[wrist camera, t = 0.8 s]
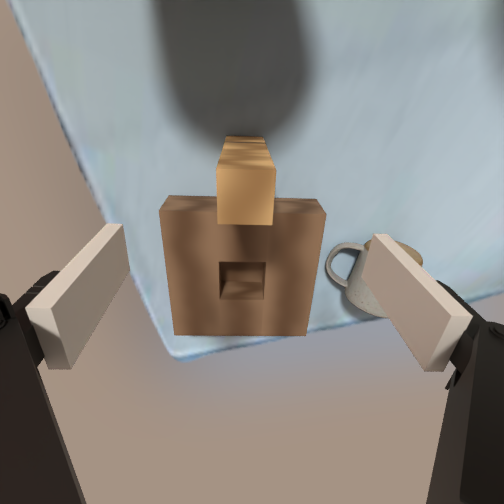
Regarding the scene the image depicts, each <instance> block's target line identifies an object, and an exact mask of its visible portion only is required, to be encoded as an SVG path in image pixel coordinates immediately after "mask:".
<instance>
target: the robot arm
mask: <svg viewBox="0 0 504 504" xmlns="http://www.w3.org/2000/svg"><path fill="white" fill-rule="evenodd" d="M129 271H130V267H129V261H128V254H127V248H126V242H125V235H124V229H123V224H106V225H105V226H104V227H103V228H102V229H101V231H100V232H99V233H98V234H96V236H95V237H94V238H93V239H92V240H91V241H90V242H89V243H88V244H87V245H86V246H85V247H84V248H83V249H82V250H81V251H80V252H79V253H78V254H77V255H76V256H75V257H74V258H73V259H72V260H71V261H70V262H69V263H68V264H67V265H66V267H64V268H63V269H62V270H61V271H52V272H50V273H49V274H47V275H45V276H43V277H41V278H40V279H39V280H38V281H37V282H36V283H35V284H34V285H33V287H31V288H30V289H29V290H28V291H27V292H26V294H23V295H22V296H21V297H20V298H19V299H18V300H17V301H16V302H15V303H14V304H13V305H12V304H11V302H10V300H9V298H8V297H7V296H6V295H5V294H1V293H0V504H86V501H85V498H84V495H83V493H82V490H81V487H80V484H79V482H78V479H77V476H76V473H75V470H74V468H73V465H72V462H71V459H70V456H69V454H68V451H67V448H66V445H65V443H64V440H63V437H62V434H61V432H60V429H59V426H58V423H57V421H56V418H55V415H54V412H53V409H52V407H51V404H50V401H49V398H48V395H47V393H46V390H45V387H44V384H43V382H42V379H41V376H40V373H39V371H38V369H37V367H38V365H39V364H40V363H41V361H42V360H43V358H44V359H45V361H46V364H47V367H48V369H72V367H73V365H74V364H75V362H76V360H77V358H78V357H79V355H80V353H81V352H82V350H83V348H84V347H85V345H86V343H87V342H88V340H89V338H90V337H91V335H92V333H93V332H94V330H95V328H96V327H97V325H98V323H99V321H100V320H101V318H102V316H103V315H104V313H105V311H106V310H107V308H108V306H109V305H110V303H111V301H112V300H113V298H114V296H115V294H116V293H117V291H118V290H119V288H120V286H121V285H122V283H123V281H124V279H125V278H126V276H127V274H128V273H129ZM361 277H362V278H363V280H364V281H365V283H366V284H367V286H368V287H369V289H370V290H371V292H372V293H373V295H374V296H375V298H376V299H377V301H378V302H379V304H380V305H381V307H382V308H383V310H384V311H385V313H386V314H387V316H388V317H389V319H390V320H391V322H392V323H393V325H394V326H395V328H396V329H397V331H398V332H399V334H400V335H401V337H402V338H403V340H404V341H405V343H406V344H407V346H408V347H409V349H410V350H411V352H412V353H413V355H414V356H415V358H416V359H417V361H418V362H419V364H420V365H421V367H422V368H423V370H424V371H441V372H443V371H444V369H445V368H446V366H447V364H448V362H449V360H450V361H451V362H452V364H453V365H454V366H455V367H456V369H455V371H454V373H453V375H452V377H451V378H450V380H449V382H448V384H447V386H446V387H445V389H447V390H448V389H449V388H450V389H449V394H448V398H447V403H446V408H445V413H444V418H443V423H442V428H441V433H440V438H439V443H438V448H437V453H436V458H435V463H434V467H433V472H432V477H431V482H430V487H429V492H428V497H427V502H426V504H504V325H502V324H498V323H495V322H487V321H486V320H484V319H483V318H482V317H481V316H480V315H479V314H478V313H477V312H476V311H475V310H474V309H473V308H471V307H470V306H469V305H468V304H467V303H466V302H464V300H463V299H462V298H461V297H460V296H458V295H457V294H456V293H455V292H454V291H453V290H452V289H451V288H450V287H448V286H447V285H445V284H443V283H442V282H440V281H438V280H434V279H433V278H432V277H431V276H430V275H429V274H428V273H427V272H426V271H425V270H424V269H423V268H422V267H421V266H420V265H419V264H418V263H417V262H416V261H415V260H414V259H413V258H412V257H410V256H409V255H408V254H407V253H406V252H405V251H404V250H403V249H402V248H401V247H400V246H399V245H398V244H397V243H396V242H395V241H394V240H393V239H392V238H391V237H390V236H389V235H388V234H373V237H372V240H371V244H370V248H369V251H368V255H367V258H366V262H365V265H364V269H363V272H362V276H361Z"/></svg>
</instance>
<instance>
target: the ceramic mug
mask: <svg viewBox="0 0 504 504" xmlns="http://www.w3.org/2000/svg"><path fill="white" fill-rule="evenodd" d="M395 242H396V243H397V244H398V245H399V246H400V247H401V248H402V249H403V250H404V251H405V252H406V253H407V254H408V255H409V256H410V257H412V258H413V259H414V260H415V261H416V262H417V263H418V264H419V265H420V266H421V267H422V264H423V259H422V257H421V255H420V254H419V253H418V252H417V251H416V250H414V249H413V248H411V247H409V246H407V245H405V244H403V243H400V242H397V241H395ZM370 244H371V240H369V241H367V242H366V243H365V245H360V244H357V243H349V242H347V243H341V244H339V245H337V246H335V247H334V248H333V249H332V250H331V251H330V253H329V255H328V258H327V261H326V269H327V272H328V274H329V275H330V277H331V278H332V279H333V280H334V281H336V282H337V283H339V284H340V285H342V286H344V287H345V295H346V297H347V298H348V300H349V301H350V302H351V303H352V304H354V305H355V306H356V307H358V308H359V309H361V310H363V311H364V312H367V313H369V314H372V315H374V316H378V317H382V318H389V317H388V316H387V314H386V313H385V311H384V310H383V308H382V307H381V305H380V304H379V302H378V301H377V299H376V298H375V296H374V295H373V293H372V292H371V290H370V289H369V287H368V286H367V284H366V283H365V281H364V280H363V278H362V277H361V276H362V272H363V269H364V265H365V262H366V258H367V255H368V251H369V248H370ZM345 248H351V249H356V250H360V253H359V255H358V258H357V261H356V264H355V266H354V268H353V270H352V272H351V275H350V277H349V279H348V281H346V280H344V279H342V278H340V277H339V276H338V275H336V274H335V273H334V272H333V270H332V269H331V262H332V260H333V258H334V256H335V255H336V254H338V251H340V250H341V249H345Z"/></svg>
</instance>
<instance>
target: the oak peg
mask: <svg viewBox="0 0 504 504" xmlns="http://www.w3.org/2000/svg"><path fill="white" fill-rule="evenodd" d="M216 179H217V221H218V224H237V225H272V222H273V208H274V195H275V181H276V168H275V166H274V163H273V161H272V159H271V156H270V154H269V151H268V149H267V146H266V143H265V141H264V139H263V137H252V136H226V139H225V142H224V146H223V149H222V152H221V155H220V158H219V162H218V165H217V168H216Z"/></svg>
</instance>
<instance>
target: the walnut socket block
mask: <svg viewBox="0 0 504 504" xmlns="http://www.w3.org/2000/svg"><path fill="white" fill-rule="evenodd" d="M159 216H160V224H161V232H162V240H163V248H164V256H165V264H166V272H167V280H168V288H169V296H170V304H171V312H172V320H173V328H174V335H202V336H306V333H307V327H308V321H309V315H310V309H311V303H312V297H313V291H314V285H315V279H316V273H317V267H318V261H319V256H320V250H321V244H322V238H323V232H324V226H325V220H326V213H325V211H324V210H323V208H322V207H321V205H320V204H319V202H318V201H317V199H297V198H274V208H273V222H272V225H237V224H218V221H217V197H214V196H172V195H169V196H168V198H167V199H166V201H165V202H164V204H163V205H162V207H161V208H160V210H159Z"/></svg>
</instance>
